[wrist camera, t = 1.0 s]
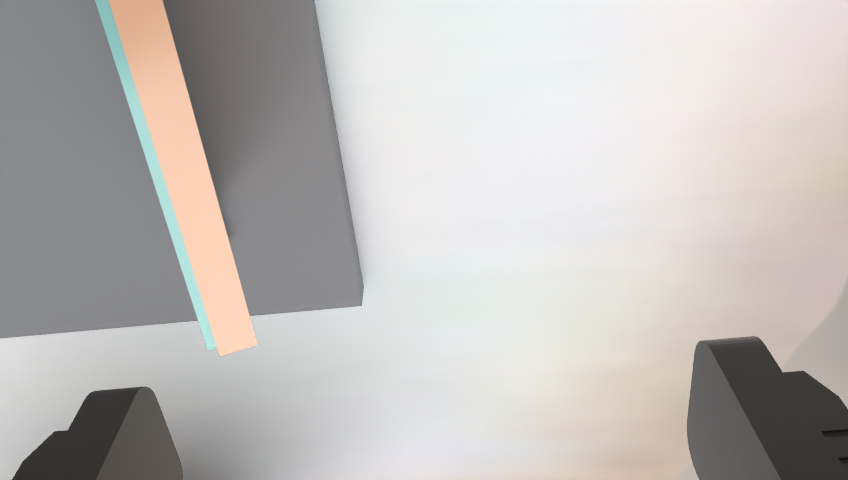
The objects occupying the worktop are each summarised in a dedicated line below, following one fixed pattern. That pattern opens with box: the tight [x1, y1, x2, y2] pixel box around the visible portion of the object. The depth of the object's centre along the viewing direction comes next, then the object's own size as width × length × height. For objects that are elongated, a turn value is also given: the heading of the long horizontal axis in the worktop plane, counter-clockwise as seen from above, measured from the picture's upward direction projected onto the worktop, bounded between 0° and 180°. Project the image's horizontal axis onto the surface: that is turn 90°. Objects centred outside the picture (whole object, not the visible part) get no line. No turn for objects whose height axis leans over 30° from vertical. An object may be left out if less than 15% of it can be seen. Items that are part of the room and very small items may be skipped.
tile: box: [95, 0, 257, 356], centre depth 24 cm, size 14×10×2 cm
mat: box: [0, 0, 364, 338], centre depth 29 cm, size 26×18×3 cm
